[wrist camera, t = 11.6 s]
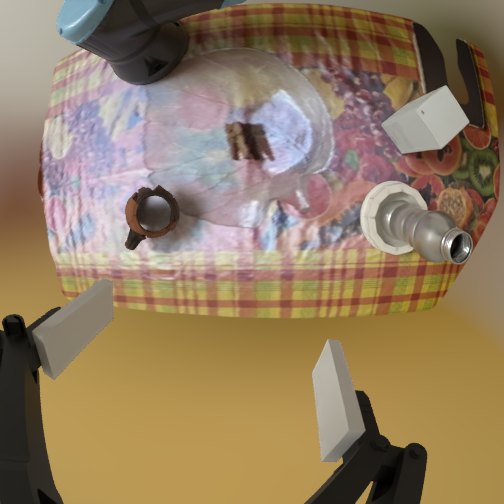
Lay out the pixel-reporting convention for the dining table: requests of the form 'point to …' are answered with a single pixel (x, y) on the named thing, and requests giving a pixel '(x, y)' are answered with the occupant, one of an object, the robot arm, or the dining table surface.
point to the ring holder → (374, 207)
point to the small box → (426, 122)
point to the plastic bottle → (426, 232)
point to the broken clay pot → (136, 229)
